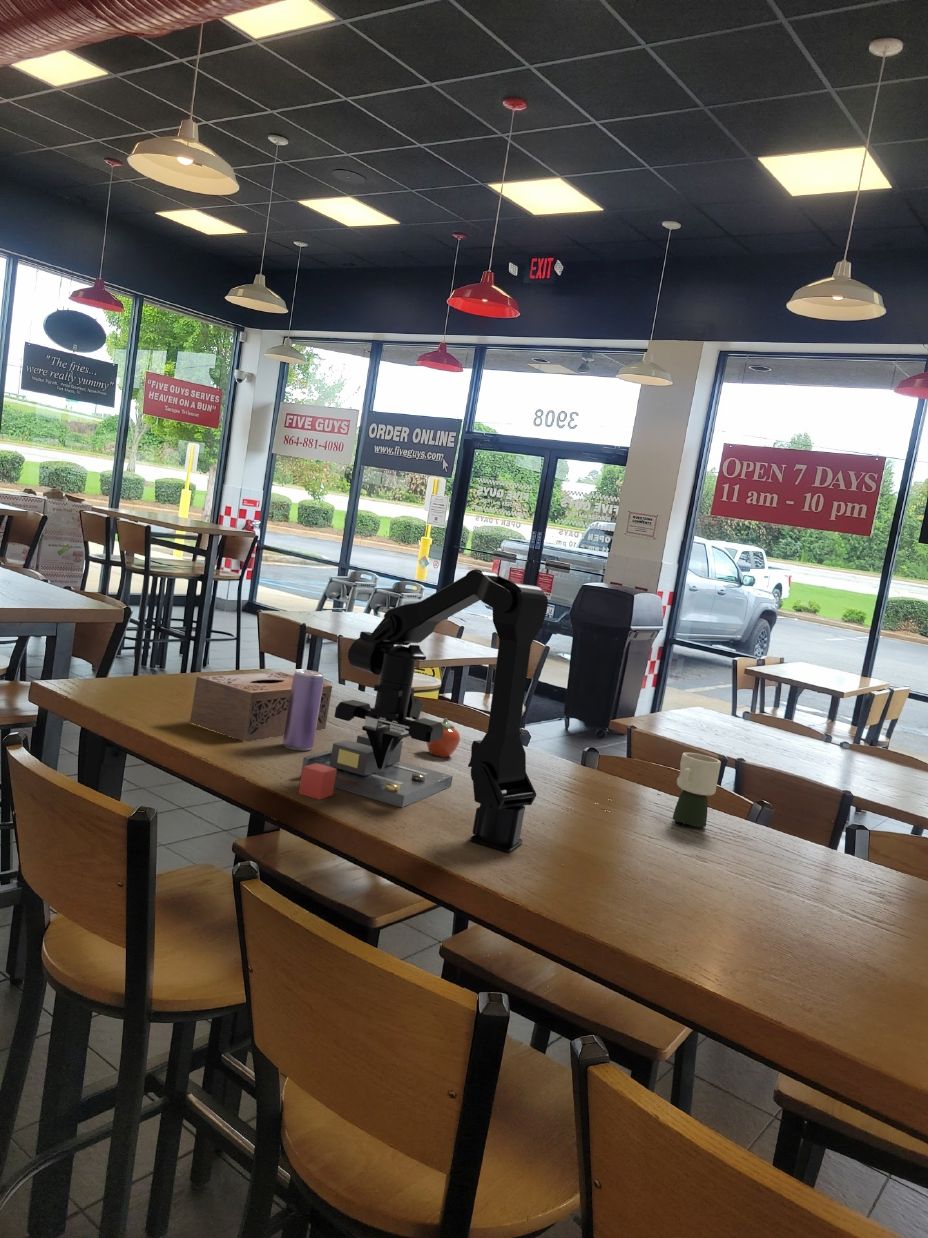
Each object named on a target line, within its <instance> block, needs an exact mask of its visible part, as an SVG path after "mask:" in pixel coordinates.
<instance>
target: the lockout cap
mask: <svg viewBox="0 0 928 1238" xmlns="http://www.w3.org/2000/svg"><path fill="white" fill-rule="evenodd" d="M301 771H302V776H301V775H300V784H299V790H298V794H299V795H304V796H307V797H310V798H313V799H317V800H322V799H326V798H328V797H331V796H333V795H334V788H335V787H334V783H335V777H336V771H337V769H335V768H332V767H328V766H325V765H321V764H318V763H315V764H311V765H307V766H304V767H303V770H302V769H301Z"/></svg>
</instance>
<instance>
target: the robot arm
mask: <svg viewBox="0 0 928 1238" xmlns="http://www.w3.org/2000/svg"><path fill="white" fill-rule="evenodd" d="M479 601H481V602H482V603H483V604H485V605H487V606H489V607H491V608H492V623H493V626H494V628H495V631H496V634H497V636H498V647H497V648H498V650H497V655H496V664H495V671H494V679H493V680H494V681H493V687H492V696H491V702H490V709H489V711H490V712H489V717H488V725H487V731H486V733H485V735H484V736H483V738H482V739H481V740H478V739H477V740H473V741H472V743H471V748H470V750H471V751H470V752H471V753H470V754H471V755H470V760H469V762H468V764H467V766H468V768H470V778H471V781H472V786H473V788H472V789H473V796H474V802H476V803H477V804H480V805H479V806H478V807H477V808H476V809H475V815H474V821H473V827H472V835H471V836H470V841H471V842H472V843H473V842H474V843H478V844H481V845H484V846H487V847H490V848H493V849H496V850H500V851H502V852H506V853H507V852H508V853H510V852H512V851H513V850H514V849H515V848H517V847H519V846H520V845H521V844H523V839H522V838H520V837H521V833H522V827H523V823H524V822H523V821H524V815H525V811H526V806H532V804H533V803H534V801H535V800H536V797H537V792H536V790H535V788H534V786H533V784H532V782H531V779H530V778H529V776H528V773H527V769H526V768H527V763H526V761H527V760H526V759H527V757H526V756H527V755H526V750H525V748H524V745H523V742H522V740H521V737H520V735H521V734H520V732H521V731H520V730H521V726H522V725H521V724H522V717H523V708H524V702H525V701H524V700H525V693H526V686H527V679H528V671H529V665H530V664H529V662H530V654H531V648H532V643H533V642H534V640H535V639H536V637H537V635H538V634H539V632H541V630H542V628H543V625H544V621H545V618H546V614H547V611H548V608H549V607H548V606H549V600H548V595H546V594H545V592H544V590H543V589H542V588H540V587H539V586H536V585H532V584H525V583H518V582H515V581H513V580H510V579H507V578H505V577H503V576H501V575H500V574H497V573H495V572H494V571H491V570H484V569H479V568H478V569H477V568H474V569H472V570H469V571H468V572H467V573H466V574H465V575H464V576H463V577H461V578H458V579H457V580H456V581H454V582H452V583H450V584H449V585H447V586H444V587H443V588H441V589H440V590H438V591H436V592H435V593H433V594H431V595H429V596H428V597H426V598H423V599H422V600H420V601H417V602H412V603H407V604H402V605H398V606H395V607H393V608H390V609H388V610H387V611H386V612H385V613H384V615H383V619H382V620H381V621H380V623H379V624H378V625H377V626H376V628H375V629H374V630H373V631H372V632H370V631H361V632H360V634H359V638H356V639H355V640H354V641H353V642H352V643H351V645H350V648H349V649H348V651H347V658H348V661H349V664H350V665H351V666H352V667H353V668H356V669H357V670H361V671H364V672H368V673H371V674H374V675H376V676H377V675H379V679H378V683H377V684H374V688H373V691H375V692H376V696H375V701H374V702H375V703H374V707H371V704H370V703H368V702H363V701H360V700H356V699H350V700H342V701H340V702H339V703H338V704H337V705H336V707H335V712H334V718H335V719H339V720H343V721H347V722H350V721H351V720H352V719H354V718H358V719H359V718H360V719H363V720H365V722H364V726H362V728H361V730H363V731H365V734H366V733H367V735H368V738H369V740H370V743H371V746H372V749H373V753H374V756H375V760H376V764H377V768H378V769H384V768H385V766H386V764H387V762H388V760H389V759H390V757H391V755H392V753H393V751H394V750H395V748H396V746H397V745H398V744H399V742H400V741H403V739H405V738H408V737H410V738H411V739H414V740H417V741H421V742H424V743H426V742H432V741H435V740H439V739H442V736H443V730H444V729H443V726H442V724H441V722H442V721H437V720H433V719H429V718H427V717H426V718H425V717H422V718H420V717H421V711H422V709H423V706H424V703H423V701H421V700H420V699H418V698H417V697H415V688H414V687H412V686H413V680H414V674H415V667H416V664H417V661H426V660H427V656H426V655H425V653H424V652H423V651H422V649H421V647H420V645H418V643H421V642H423V641H424V640H425V639H427V638H428V637H429V636H430V635H431V634H433V633H434V631H435V629H436V626H437V625H438V624H440V623H441V622H443V621H445V620H446V619H449V618H450V617H452V616H454V615H455V614H457V613H459V612H461V611H462V610H465V609H467V608H469V607H471V606H472V605H474V604H476V603H478V602H479ZM416 644H417V645H416ZM407 718H409V719H407ZM410 718H411V719H413V720H411V719H410ZM503 791H506V792H504V793H503Z"/></svg>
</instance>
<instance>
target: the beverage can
mask: <svg viewBox="0 0 928 1238" xmlns="http://www.w3.org/2000/svg"><path fill="white" fill-rule="evenodd" d="M292 675H293V681H292V687H291V693H290V700H289V706H288V712H287V718H286V725H285V731H284V736H282V737H283V738H282V743H283V747H284V748H286V749H288V748H289V749H288V750H292V751H297V750H298V751H299V752H309V751H310V750H312V749H313V747H314V745H315V738H316V733H317V731H316V727H317V720H318V714H319V708H320V702H321V696H322V689H323V684H325V683H324V682H325V679H324V676H325V675H324V673H322V672H320V671H315V670H309V669H295V670H294V674H292ZM298 751H297V752H298Z"/></svg>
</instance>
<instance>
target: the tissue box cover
mask: <svg viewBox="0 0 928 1238" xmlns="http://www.w3.org/2000/svg"><path fill="white" fill-rule="evenodd" d="M293 675H294V674H290V673H287V672H283V671H276V672H275V671H273V672H259V673H258V672H256V673H242V674H241V673H239V674H238V673H237V674H219V675H218V674H217V675H205V676H204V675H201V676H200V675H199V676H196V681H195V687H194V694H193V699H192V701H193V702H192V705H191V707H192V708H191V713H190V720H189V723H190V722H191V723H194V724H196V725H200V726H202V727H205V728H208V729H210V730H214V731H216V732H219V733H222V734H225V735H227V736H231V737H234V738H235V739H234V740H236V739H239V740H241V741H240V742H242V741H248V742H253V741H252V740H255V741H258V740H257V739H261V740H266V739H265V738H268V739H270V738H269V737H274V738H277V737H276V736H281V737H284V736H283V735H284V731H285V725H286V718H287V712H288V706H289V700H290V693H291V687H292V681H293ZM332 689H333V685H331V684H326V683H323V689H322V696H321V702H320V708H319V714H318V720H317V727H316V730H319V731H322V730H321V729H325V730H326V726H327V720H328V715H329V709H330V702H331V697H332ZM227 736H226V737H227ZM239 740H238V741H239Z"/></svg>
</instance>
